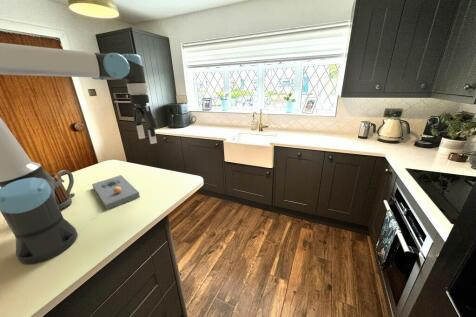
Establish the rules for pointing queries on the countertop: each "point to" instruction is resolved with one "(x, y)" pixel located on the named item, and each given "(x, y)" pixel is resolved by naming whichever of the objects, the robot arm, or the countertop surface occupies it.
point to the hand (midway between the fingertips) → (147, 140)
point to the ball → (117, 189)
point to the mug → (63, 189)
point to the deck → (109, 196)
